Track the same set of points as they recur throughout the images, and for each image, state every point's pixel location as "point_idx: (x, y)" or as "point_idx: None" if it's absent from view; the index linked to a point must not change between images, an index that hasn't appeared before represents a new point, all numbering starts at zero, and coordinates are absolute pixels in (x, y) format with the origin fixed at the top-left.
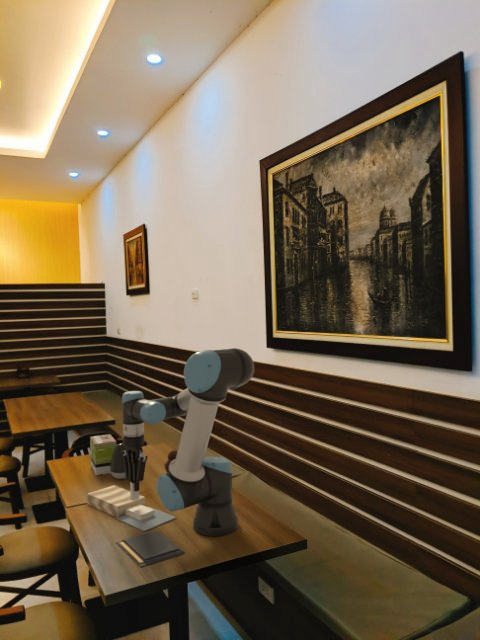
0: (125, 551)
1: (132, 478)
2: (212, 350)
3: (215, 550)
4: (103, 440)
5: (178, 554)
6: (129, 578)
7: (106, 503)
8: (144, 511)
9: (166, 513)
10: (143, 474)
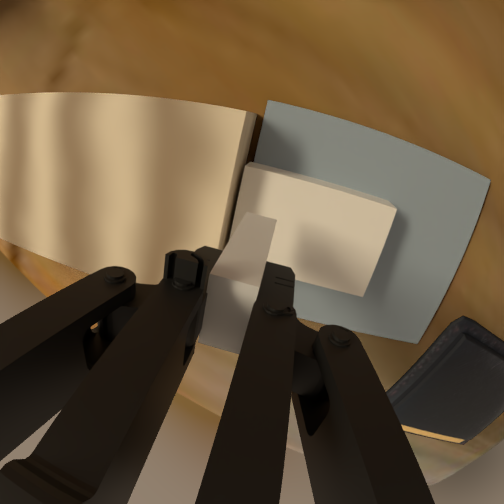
0: (409, 432)
1: (191, 337)
2: None
3: None
4: None
5: None
6: (450, 464)
7: None
8: (354, 249)
9: (431, 152)
10: (382, 405)
